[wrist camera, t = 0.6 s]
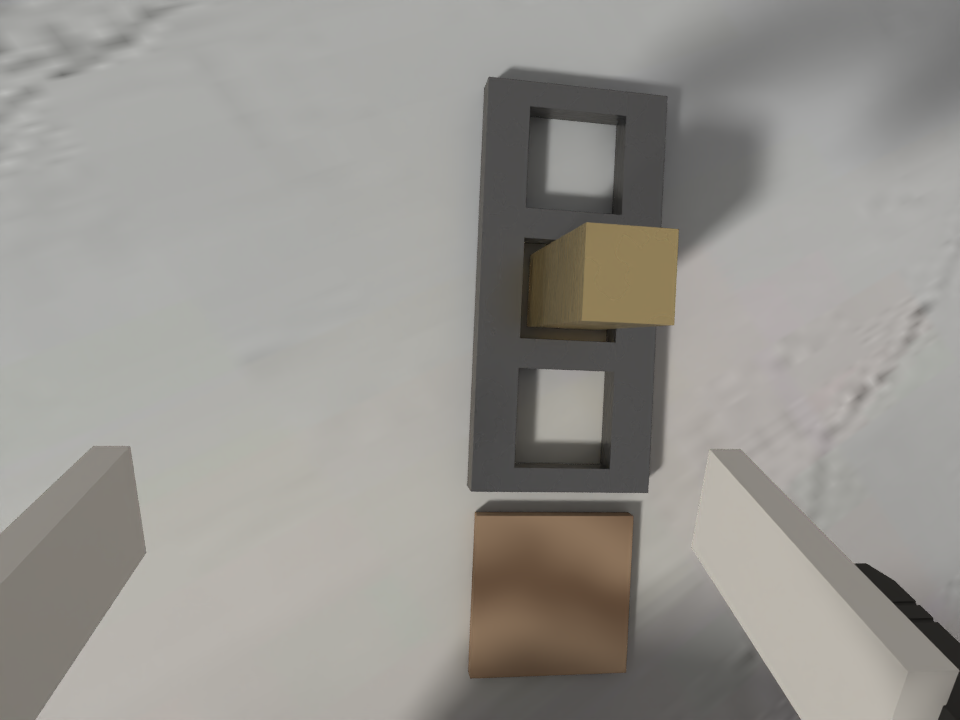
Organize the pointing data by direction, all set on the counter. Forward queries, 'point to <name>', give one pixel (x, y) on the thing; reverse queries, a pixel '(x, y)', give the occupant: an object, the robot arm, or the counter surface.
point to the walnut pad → (550, 593)
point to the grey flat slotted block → (501, 289)
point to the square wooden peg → (605, 278)
